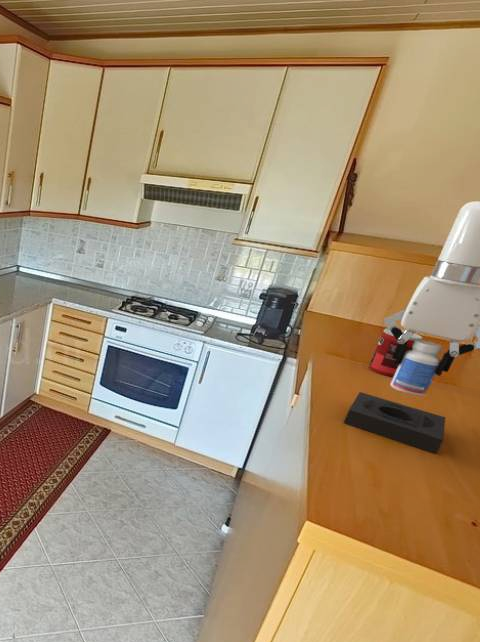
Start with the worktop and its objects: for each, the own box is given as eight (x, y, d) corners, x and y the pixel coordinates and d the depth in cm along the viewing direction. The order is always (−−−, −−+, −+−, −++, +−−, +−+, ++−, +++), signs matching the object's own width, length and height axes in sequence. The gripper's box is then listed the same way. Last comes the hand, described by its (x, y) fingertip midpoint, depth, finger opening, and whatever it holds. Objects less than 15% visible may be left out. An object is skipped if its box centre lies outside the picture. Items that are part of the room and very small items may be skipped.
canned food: (383, 366, 134) (400, 328, 130) (412, 378, 126) (431, 338, 122) (360, 365, 132) (376, 327, 128) (388, 378, 125) (406, 337, 121)
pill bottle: (430, 399, 91) (454, 351, 88) (396, 392, 93) (418, 344, 89) (417, 388, 96) (439, 342, 93) (384, 382, 98) (405, 336, 94)
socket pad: (354, 404, 107) (359, 391, 106) (438, 430, 98) (445, 417, 97) (343, 422, 97) (349, 409, 96) (436, 454, 88) (443, 439, 87)
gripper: (528, 283, 84) (478, 379, 90) (401, 263, 94) (364, 350, 101) (532, 288, 78) (478, 389, 85) (397, 266, 89) (359, 357, 96)
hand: (417, 367), depth 93 cm, fingers closed on pill bottle, 5 cm apart
